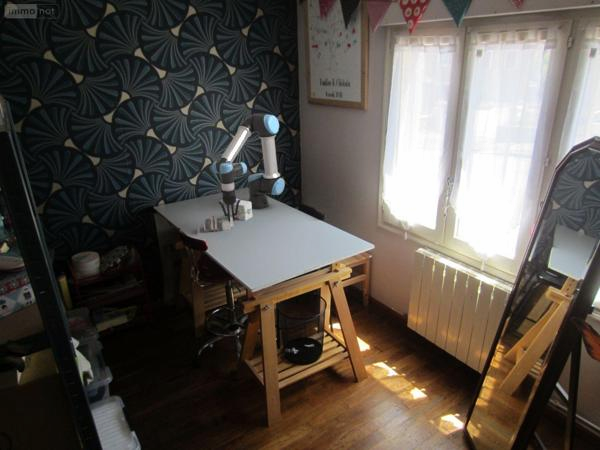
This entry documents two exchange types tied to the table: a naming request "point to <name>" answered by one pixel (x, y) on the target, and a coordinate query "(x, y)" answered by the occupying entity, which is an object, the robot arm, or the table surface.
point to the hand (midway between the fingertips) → (232, 226)
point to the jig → (208, 221)
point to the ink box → (243, 210)
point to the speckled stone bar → (225, 225)
